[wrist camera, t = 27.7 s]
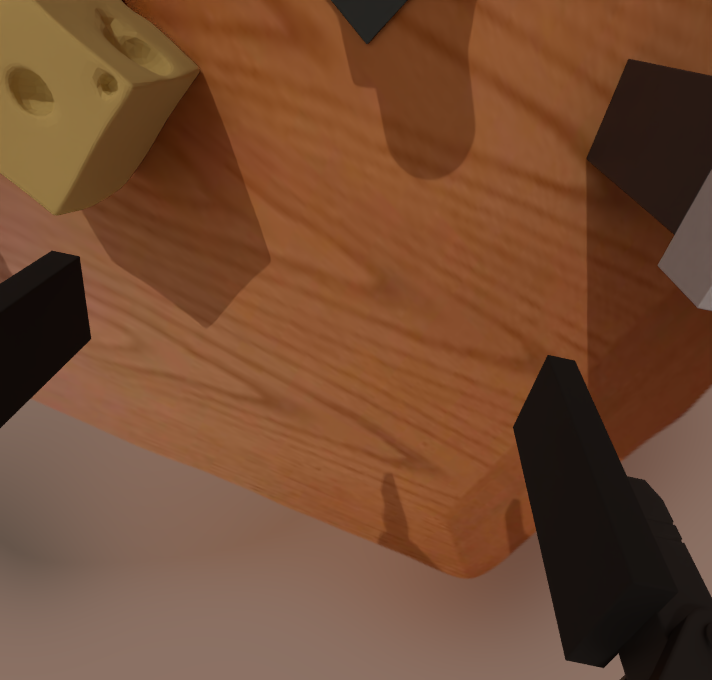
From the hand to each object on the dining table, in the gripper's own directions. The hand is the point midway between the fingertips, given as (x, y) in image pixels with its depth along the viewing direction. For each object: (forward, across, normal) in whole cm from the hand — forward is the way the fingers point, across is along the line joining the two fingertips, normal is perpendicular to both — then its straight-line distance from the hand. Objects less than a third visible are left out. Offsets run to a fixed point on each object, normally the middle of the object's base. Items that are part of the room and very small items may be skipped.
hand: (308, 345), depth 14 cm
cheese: (+25, -19, +1) cm, 31 cm away
